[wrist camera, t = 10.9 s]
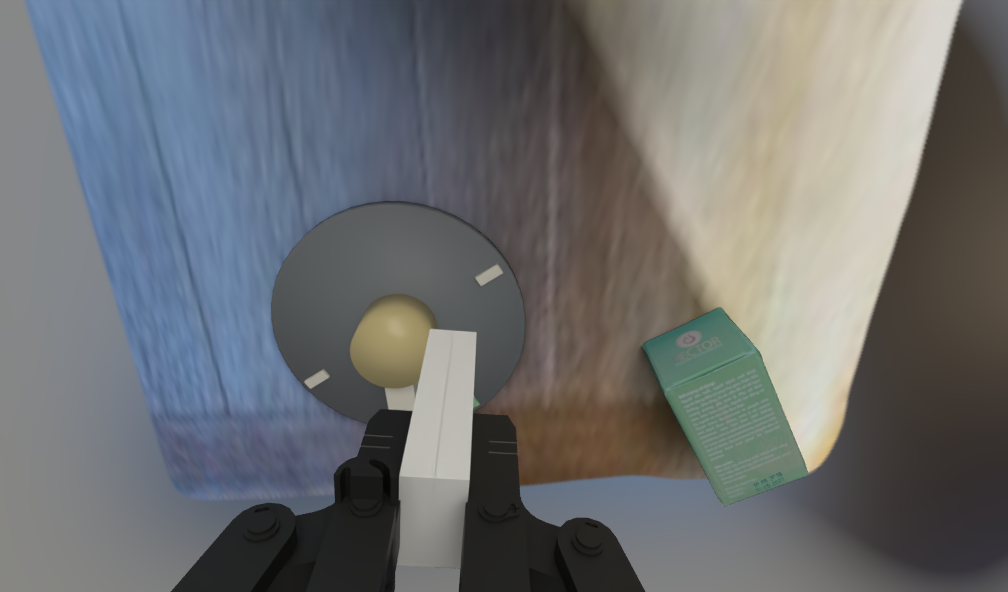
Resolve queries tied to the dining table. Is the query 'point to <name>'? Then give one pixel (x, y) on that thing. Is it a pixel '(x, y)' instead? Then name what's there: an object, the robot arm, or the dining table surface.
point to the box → (726, 406)
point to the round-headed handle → (393, 346)
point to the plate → (384, 271)
